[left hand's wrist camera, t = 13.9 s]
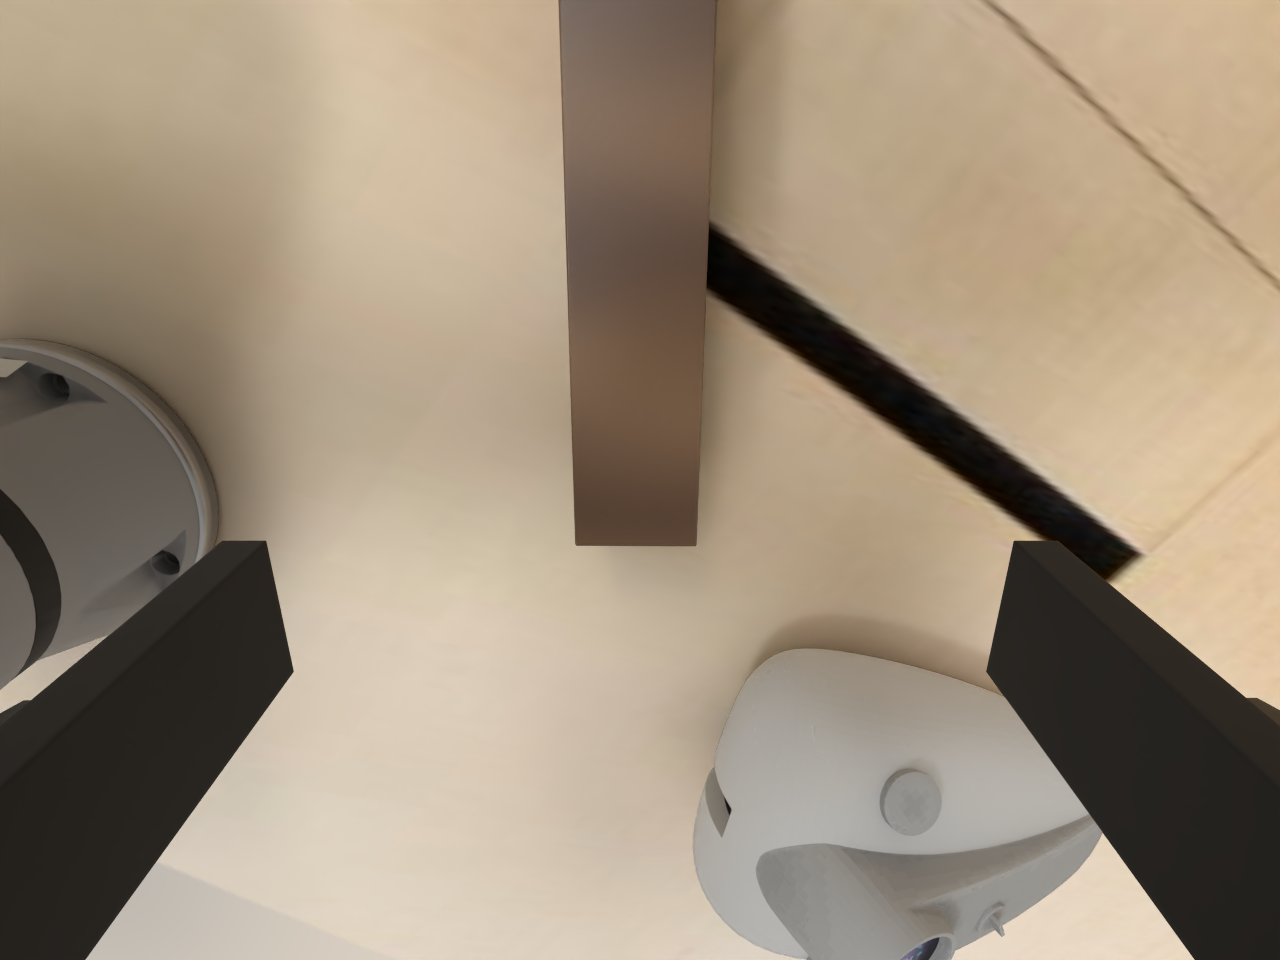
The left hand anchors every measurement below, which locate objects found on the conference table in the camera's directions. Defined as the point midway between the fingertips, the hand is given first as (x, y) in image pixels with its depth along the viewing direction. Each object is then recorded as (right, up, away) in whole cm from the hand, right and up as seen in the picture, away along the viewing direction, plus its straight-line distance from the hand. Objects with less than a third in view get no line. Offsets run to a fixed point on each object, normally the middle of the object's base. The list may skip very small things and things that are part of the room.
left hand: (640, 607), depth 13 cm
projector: (+15, -14, +31) cm, 37 cm away
